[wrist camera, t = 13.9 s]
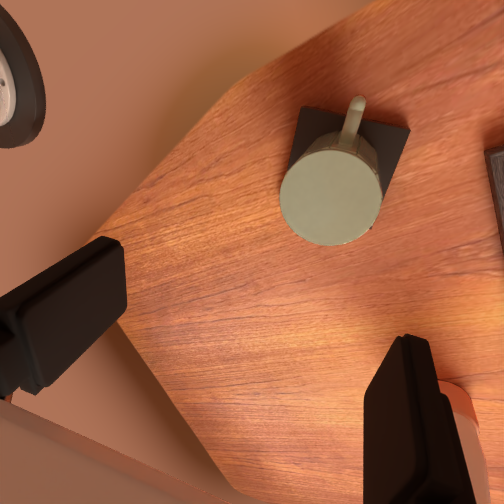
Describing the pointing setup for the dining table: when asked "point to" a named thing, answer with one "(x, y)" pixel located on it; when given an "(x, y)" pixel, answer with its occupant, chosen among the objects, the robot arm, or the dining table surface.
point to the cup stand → (374, 132)
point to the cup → (334, 185)
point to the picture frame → (497, 184)
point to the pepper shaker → (469, 439)
